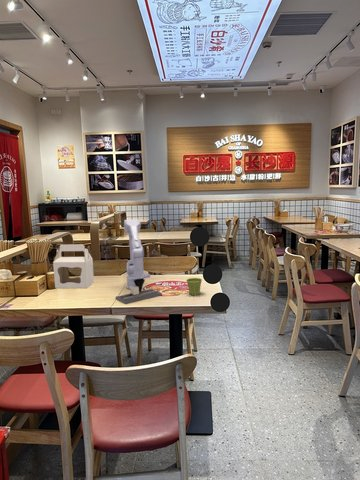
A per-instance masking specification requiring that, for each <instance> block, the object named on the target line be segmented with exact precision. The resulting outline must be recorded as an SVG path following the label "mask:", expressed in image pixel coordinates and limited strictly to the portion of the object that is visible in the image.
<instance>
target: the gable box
mask: <svg viewBox="0 0 360 480" xmlns="http://www.w3.org/2000/svg"><path fill="white" fill-rule="evenodd" d="M62 252H63V253H64V252H83V254H84V256H62ZM93 259H94V258H93V257H92V256H91V253H90V252H89V248H86V245H85V244H82V243H77V244H76V243H74V244H69V243H67V244H60V246H59V248H58V249H56V254H55V257H54V259H53V261H52V263H53V264H52V266H53V277H54V278H53V279H54V280H53V281H54V288H55V289H88V288H90V286H92V285H93V284H94V283H95V279H94V276H95V275H94V264H93V263H94V262H93V261H94V260H93ZM68 268H73V269H74V268H80V269H81V273H80V276H77V277H72V278H71V277H70V276H69V274H70V273H69V269H68Z"/></svg>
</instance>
